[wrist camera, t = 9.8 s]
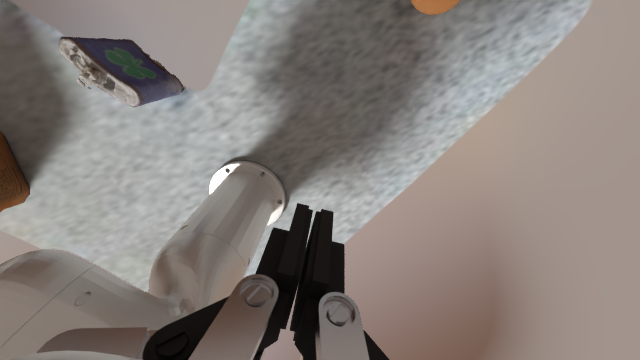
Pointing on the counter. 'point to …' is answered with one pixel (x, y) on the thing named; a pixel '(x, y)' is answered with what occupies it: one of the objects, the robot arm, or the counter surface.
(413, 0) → the ball
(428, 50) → the counter surface
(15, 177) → the pancake mix bag
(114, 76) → the flask
